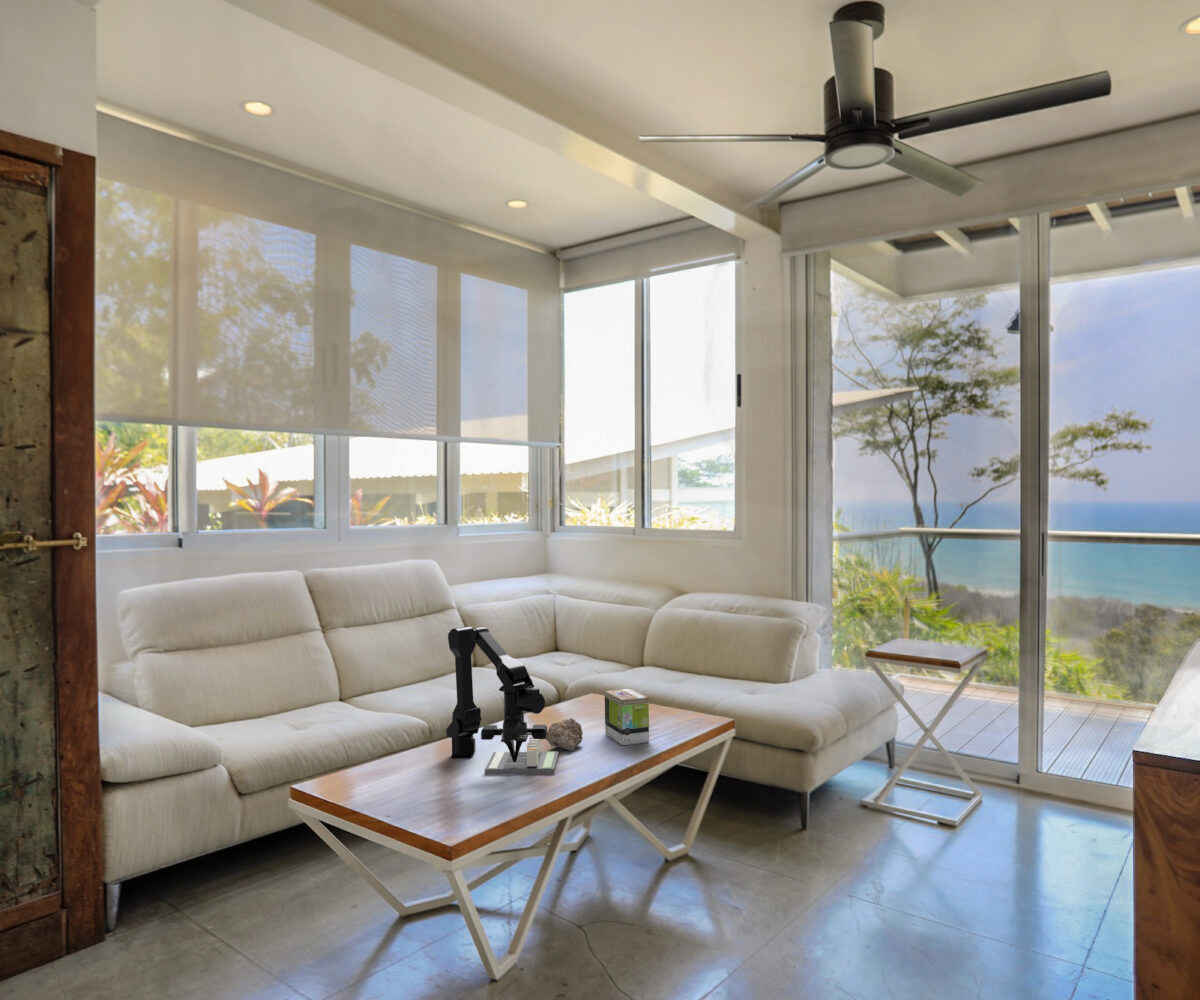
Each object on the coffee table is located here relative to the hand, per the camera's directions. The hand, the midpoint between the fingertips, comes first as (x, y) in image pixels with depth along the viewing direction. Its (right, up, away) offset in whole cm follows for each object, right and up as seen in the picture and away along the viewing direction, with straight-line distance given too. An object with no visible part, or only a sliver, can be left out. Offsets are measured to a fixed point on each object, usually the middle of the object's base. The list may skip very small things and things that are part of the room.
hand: (514, 761), depth 239 cm
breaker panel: (+2, -3, +5) cm, 6 cm away
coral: (+14, -3, +22) cm, 26 cm away
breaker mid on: (+5, -1, +5) cm, 7 cm away
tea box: (+34, -2, +31) cm, 46 cm away
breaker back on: (+5, -1, +11) cm, 12 cm away
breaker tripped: (+5, -1, 0) cm, 5 cm away
